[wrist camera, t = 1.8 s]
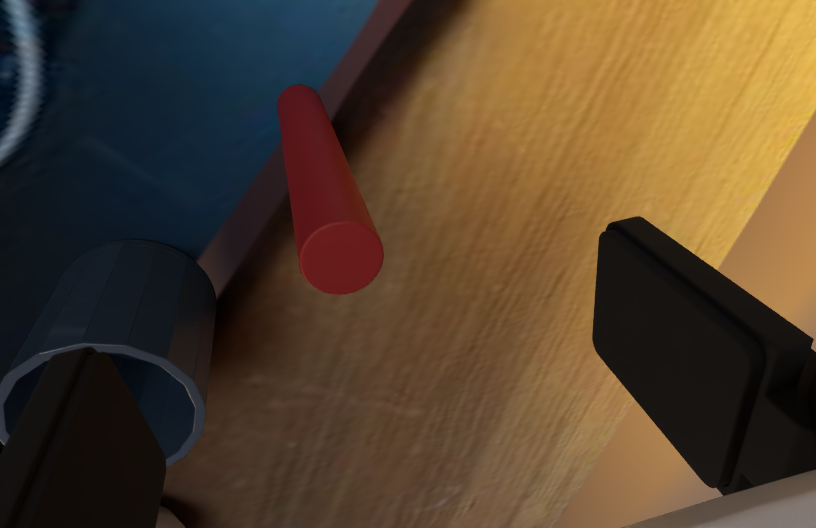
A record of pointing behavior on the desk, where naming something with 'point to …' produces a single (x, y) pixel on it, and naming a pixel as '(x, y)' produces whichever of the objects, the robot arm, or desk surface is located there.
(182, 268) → the tumbler
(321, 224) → the red cylindrical rod
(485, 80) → the desk surface
